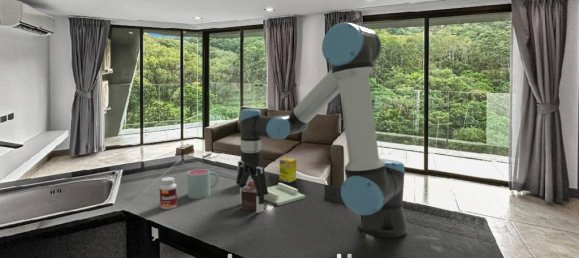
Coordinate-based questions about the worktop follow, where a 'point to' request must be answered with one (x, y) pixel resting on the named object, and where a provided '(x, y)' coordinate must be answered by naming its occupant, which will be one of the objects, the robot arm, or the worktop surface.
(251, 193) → the box
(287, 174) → the supplement box
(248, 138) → the robot arm
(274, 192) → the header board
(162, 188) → the pill bottle
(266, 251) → the worktop surface
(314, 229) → the worktop surface
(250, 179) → the ink box
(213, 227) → the worktop surface
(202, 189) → the mug
